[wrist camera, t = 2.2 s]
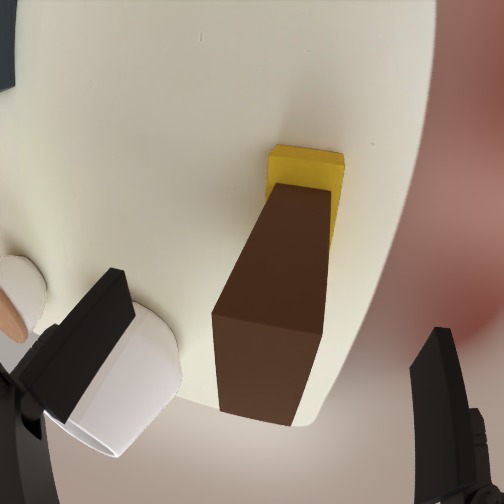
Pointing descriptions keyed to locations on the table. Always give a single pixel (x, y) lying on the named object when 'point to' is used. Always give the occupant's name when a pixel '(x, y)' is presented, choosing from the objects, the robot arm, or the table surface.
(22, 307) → the trinket box
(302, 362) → the brush
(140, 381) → the white vase
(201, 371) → the table surface
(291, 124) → the table surface
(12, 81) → the tray
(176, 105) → the table surface
